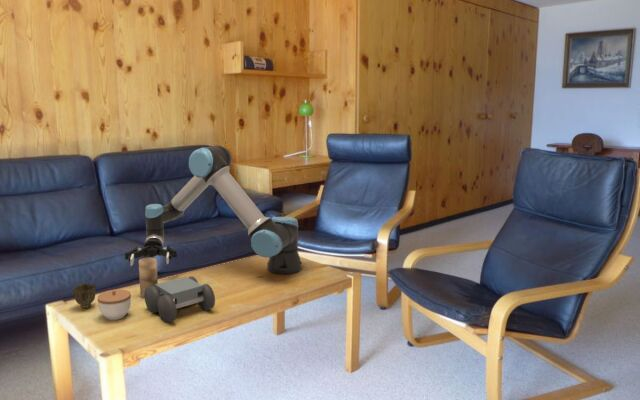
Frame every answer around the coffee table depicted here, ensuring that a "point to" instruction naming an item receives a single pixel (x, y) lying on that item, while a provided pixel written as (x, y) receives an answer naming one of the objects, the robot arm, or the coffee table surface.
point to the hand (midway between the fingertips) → (149, 261)
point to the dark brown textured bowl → (84, 294)
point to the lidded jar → (114, 303)
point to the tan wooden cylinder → (147, 273)
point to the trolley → (178, 296)
